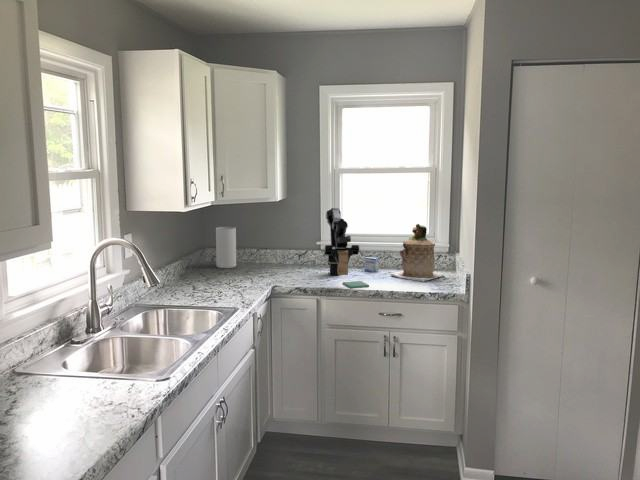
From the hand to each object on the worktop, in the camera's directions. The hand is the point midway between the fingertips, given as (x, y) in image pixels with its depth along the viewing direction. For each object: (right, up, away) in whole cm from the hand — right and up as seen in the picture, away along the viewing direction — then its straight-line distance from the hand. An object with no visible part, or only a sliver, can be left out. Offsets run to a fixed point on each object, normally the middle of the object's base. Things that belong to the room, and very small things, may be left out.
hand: (343, 262), depth 295 cm
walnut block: (0, -6, +2) cm, 7 cm away
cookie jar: (+45, -10, +31) cm, 56 cm away
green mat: (+7, -13, +6) cm, 16 cm away
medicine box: (+19, -8, +45) cm, 50 cm away
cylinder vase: (-73, -5, +57) cm, 92 cm away
